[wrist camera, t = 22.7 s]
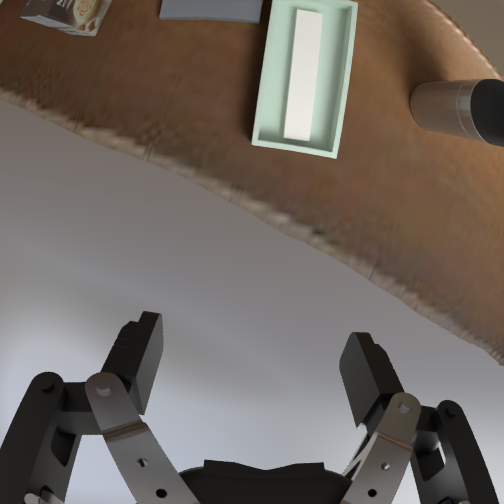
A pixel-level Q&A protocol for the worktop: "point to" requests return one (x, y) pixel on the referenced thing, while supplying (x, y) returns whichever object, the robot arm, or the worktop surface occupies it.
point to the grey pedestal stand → (212, 10)
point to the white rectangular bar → (303, 75)
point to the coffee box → (67, 14)
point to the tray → (327, 84)
